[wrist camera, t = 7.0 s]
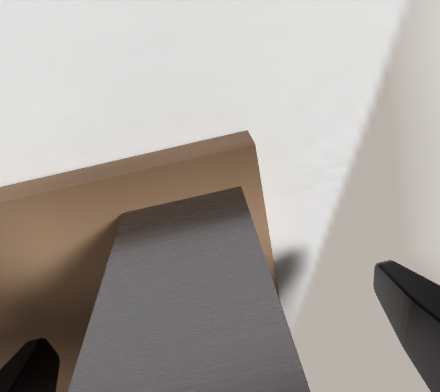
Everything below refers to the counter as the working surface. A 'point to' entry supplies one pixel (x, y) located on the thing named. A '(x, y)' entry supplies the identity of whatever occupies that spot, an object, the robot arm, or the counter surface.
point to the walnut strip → (87, 231)
